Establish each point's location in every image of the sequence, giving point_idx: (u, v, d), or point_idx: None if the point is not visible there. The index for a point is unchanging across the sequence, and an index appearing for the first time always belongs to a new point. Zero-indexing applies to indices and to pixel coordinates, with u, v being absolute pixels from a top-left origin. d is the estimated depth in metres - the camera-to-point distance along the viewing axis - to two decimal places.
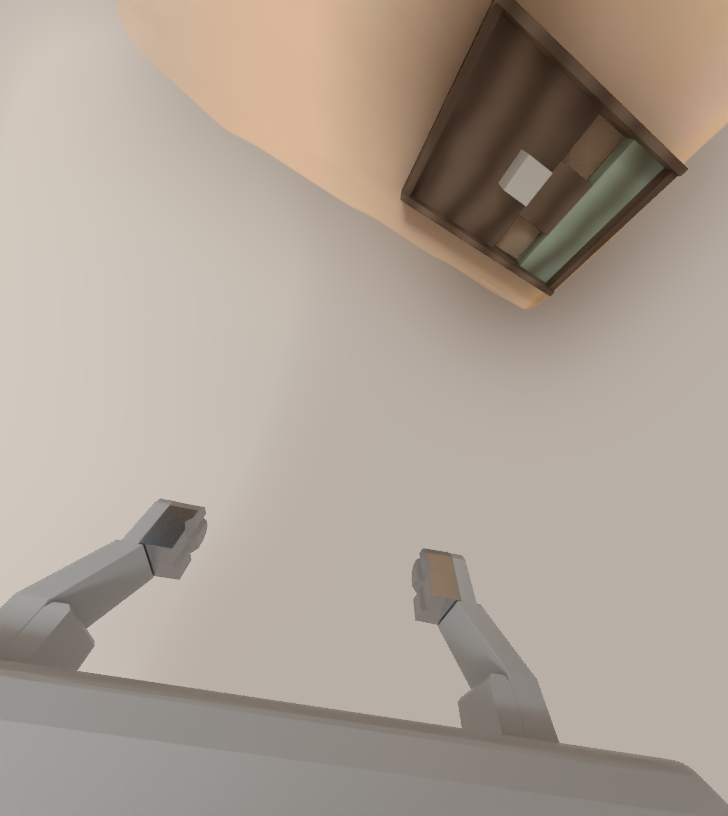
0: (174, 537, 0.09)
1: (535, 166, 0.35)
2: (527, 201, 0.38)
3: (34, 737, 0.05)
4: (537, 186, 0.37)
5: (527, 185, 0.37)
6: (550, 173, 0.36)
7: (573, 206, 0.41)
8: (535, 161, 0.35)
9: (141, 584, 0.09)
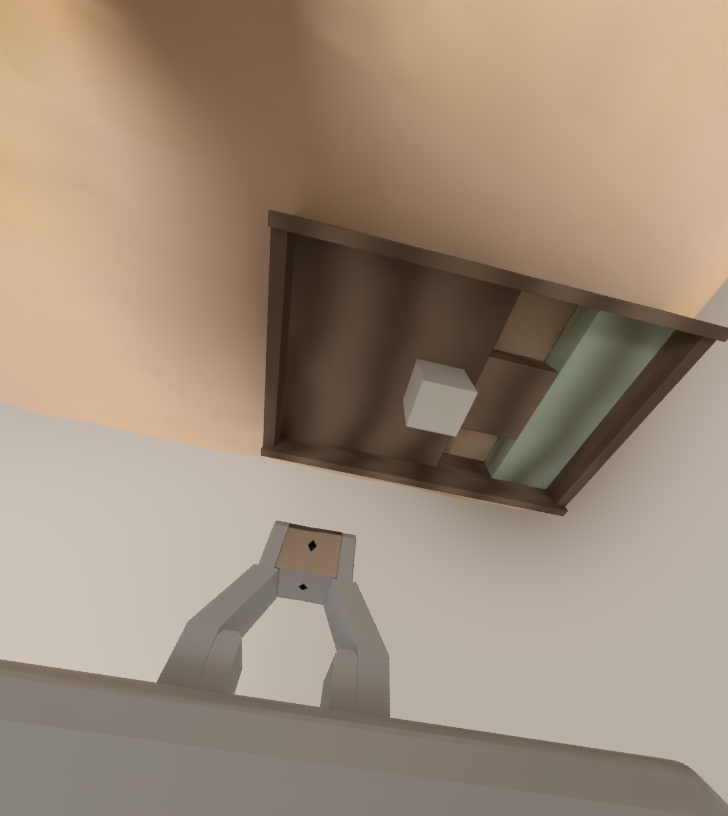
0: (303, 560, 0.09)
1: (442, 391, 0.20)
2: (454, 431, 0.22)
3: (34, 737, 0.05)
4: (459, 411, 0.21)
5: (443, 414, 0.21)
6: (474, 393, 0.20)
7: (540, 401, 0.24)
8: (439, 385, 0.20)
9: (268, 605, 0.09)
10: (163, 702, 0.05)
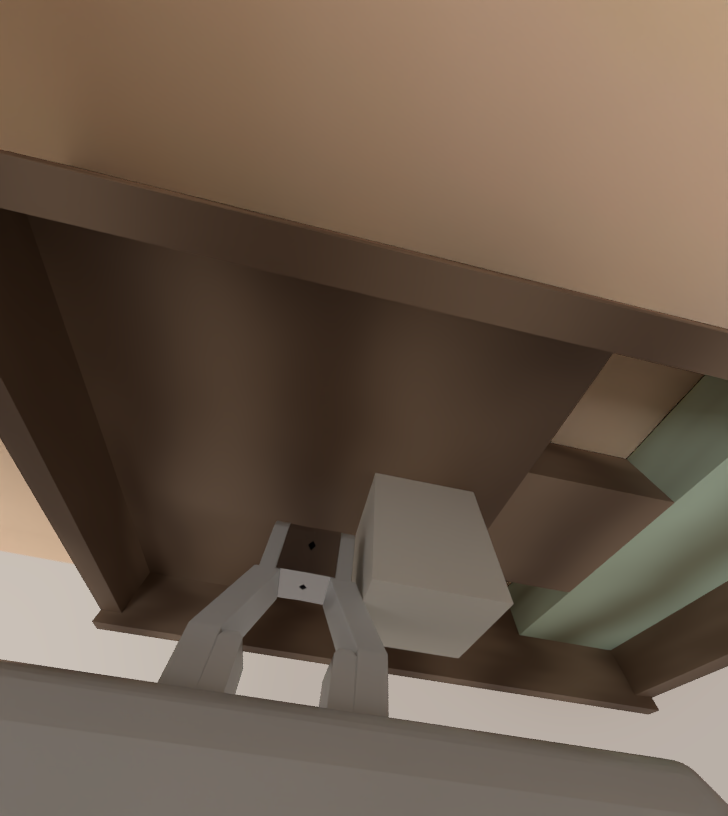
0: (304, 560, 0.09)
1: (424, 598, 0.08)
2: (455, 651, 0.10)
3: (34, 737, 0.05)
4: (467, 628, 0.09)
5: (429, 629, 0.09)
6: (503, 605, 0.08)
7: (623, 543, 0.12)
8: (414, 589, 0.08)
9: (269, 606, 0.09)
10: (163, 702, 0.05)
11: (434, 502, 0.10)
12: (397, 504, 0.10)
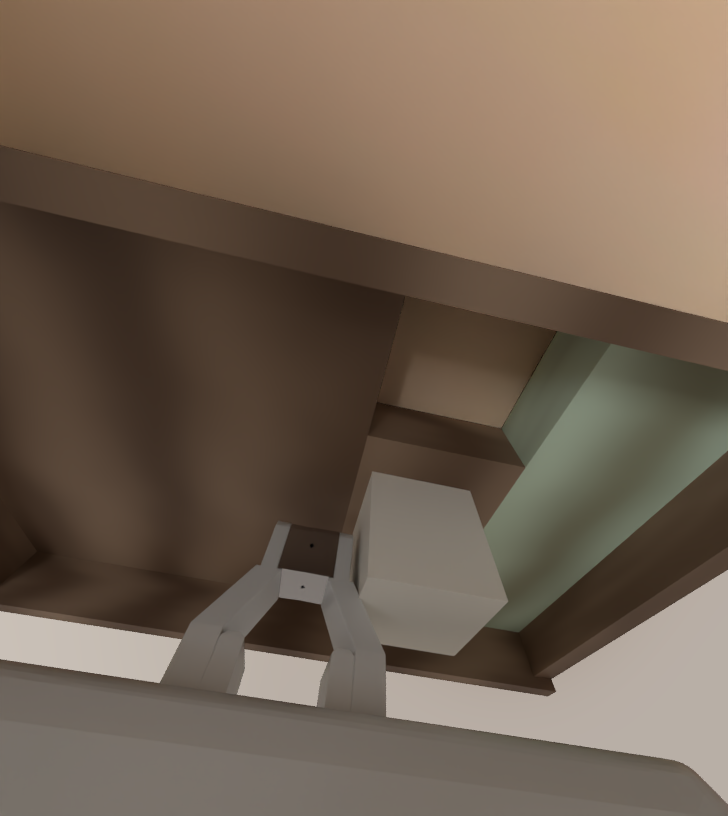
0: (305, 561, 0.09)
1: (419, 595, 0.08)
2: (450, 649, 0.10)
3: (34, 737, 0.05)
4: (462, 625, 0.09)
5: (424, 627, 0.09)
6: (498, 602, 0.08)
7: (490, 514, 0.12)
8: (409, 586, 0.08)
9: (270, 606, 0.09)
10: (163, 702, 0.05)
11: (430, 500, 0.10)
12: (393, 502, 0.10)
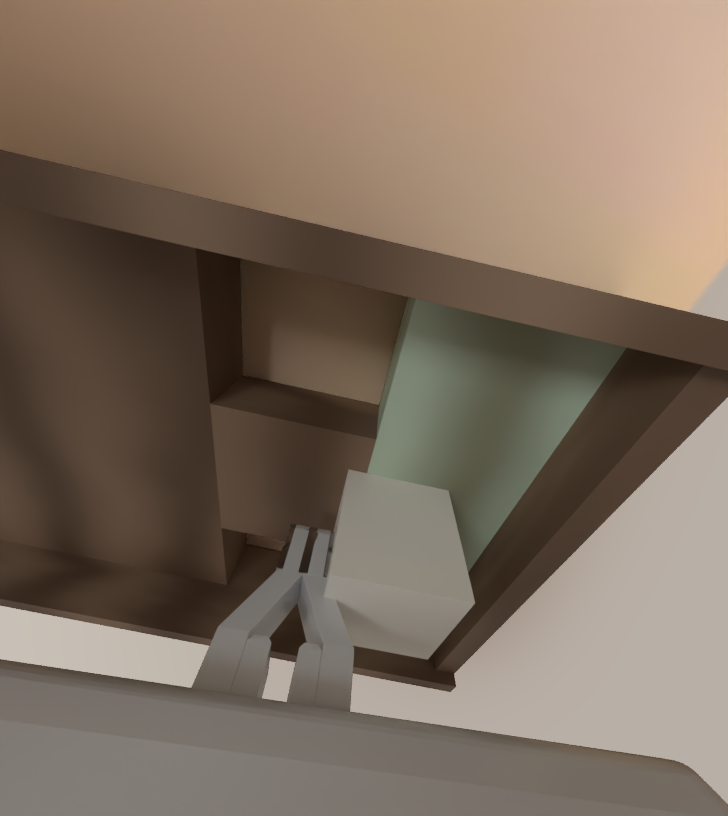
0: (326, 564, 0.09)
1: (384, 595, 0.08)
2: (423, 652, 0.09)
3: (34, 737, 0.05)
4: (431, 627, 0.08)
5: (393, 628, 0.09)
6: (465, 604, 0.08)
7: None
8: (373, 585, 0.08)
9: (290, 609, 0.09)
10: (163, 702, 0.05)
11: (405, 499, 0.10)
12: (366, 500, 0.10)
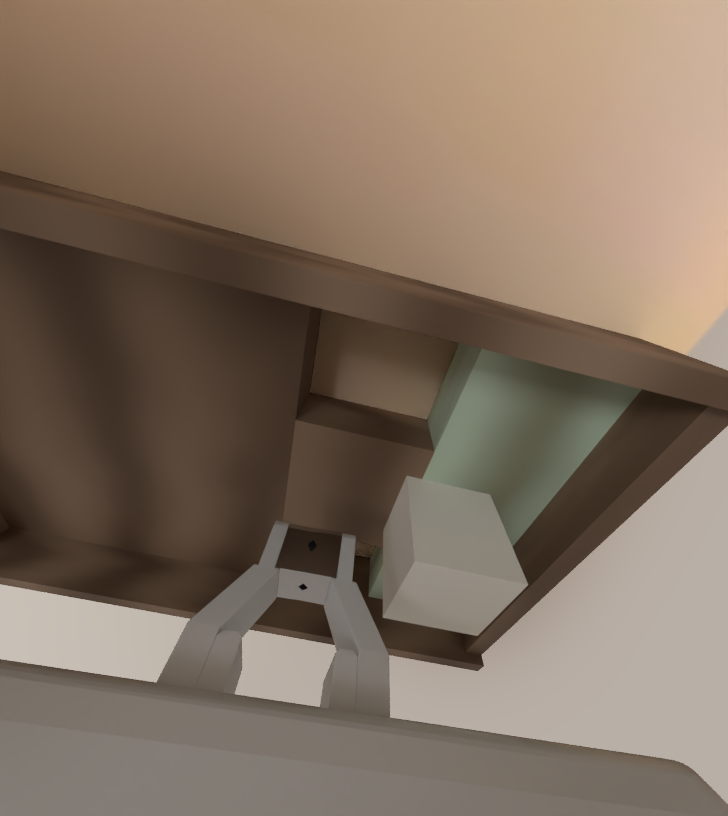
0: (303, 560, 0.09)
1: (455, 578, 0.10)
2: (475, 629, 0.11)
3: (34, 737, 0.05)
4: (487, 606, 0.10)
5: (455, 607, 0.11)
6: (520, 585, 0.10)
7: None
8: (448, 570, 0.09)
9: (268, 605, 0.09)
10: (163, 702, 0.05)
11: (458, 502, 0.12)
12: (428, 502, 0.12)
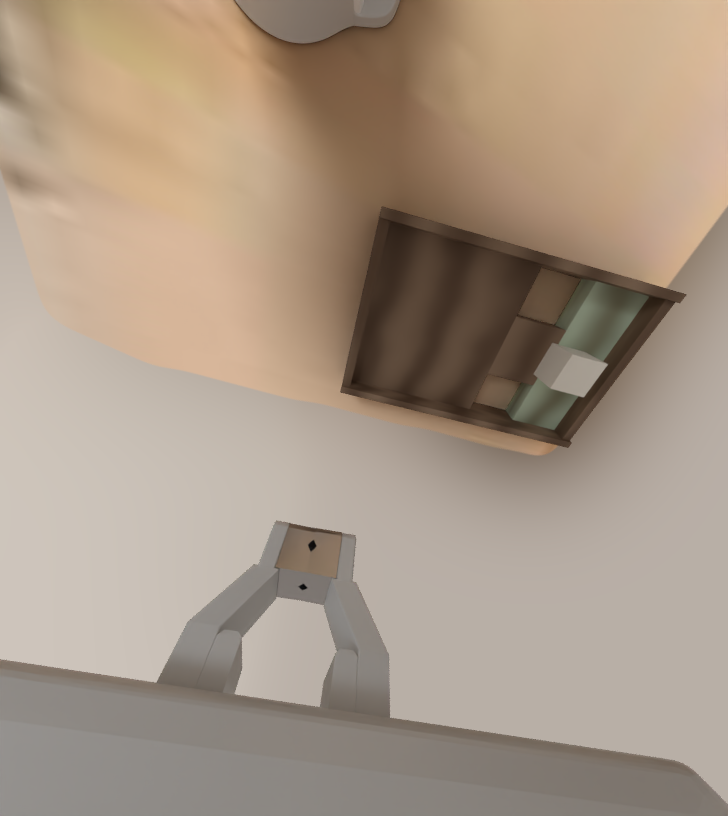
0: (303, 560, 0.09)
1: (583, 362, 0.29)
2: (583, 392, 0.31)
3: (34, 737, 0.05)
4: (591, 378, 0.30)
5: (579, 379, 0.30)
6: (605, 365, 0.29)
7: None
8: (582, 358, 0.29)
9: (268, 605, 0.09)
10: (163, 702, 0.05)
11: (574, 350, 0.32)
12: (565, 348, 0.31)
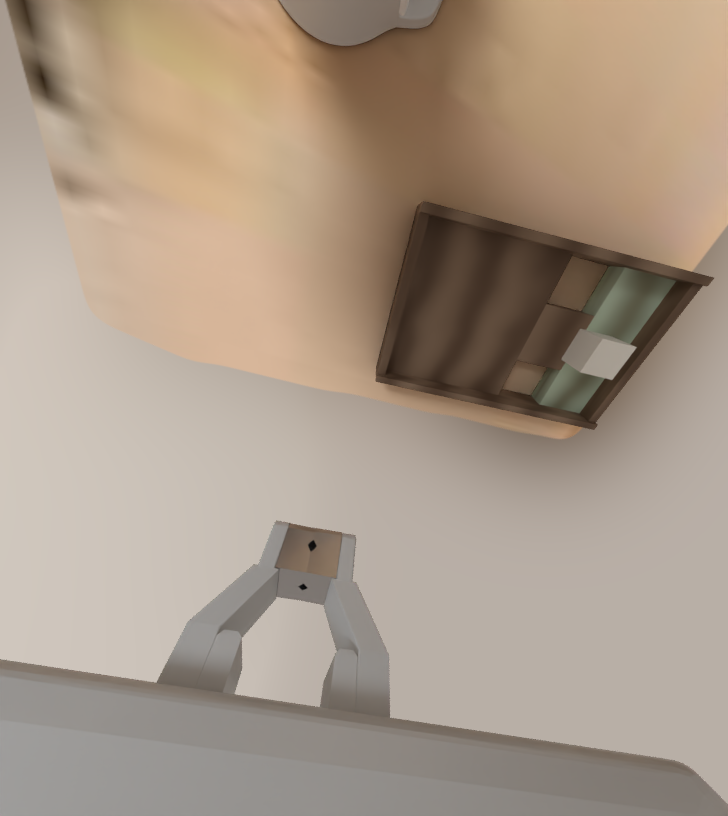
0: (303, 560, 0.09)
1: (613, 346, 0.30)
2: (612, 375, 0.32)
3: (34, 737, 0.05)
4: (620, 361, 0.31)
5: (608, 363, 0.31)
6: (634, 348, 0.30)
7: None
8: (612, 342, 0.30)
9: (268, 605, 0.09)
10: (163, 702, 0.05)
11: (602, 335, 0.33)
12: (593, 333, 0.32)
